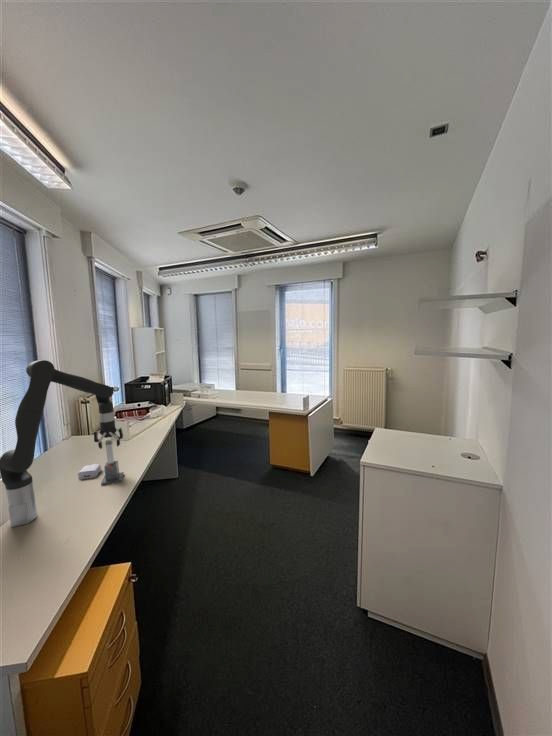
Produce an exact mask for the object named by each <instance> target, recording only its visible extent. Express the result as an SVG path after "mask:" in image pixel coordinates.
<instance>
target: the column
mask: <svg viewBox="0 0 552 736" xmlns="http://www.w3.org/2000/svg"><path fill="white" fill-rule="evenodd" d="M113 441H114V440H113V439H106V440H105V449H106V459H107V460H106V461H107V462H108V465H113V464H115V461H116V459H115V452H114V443H113Z"/></svg>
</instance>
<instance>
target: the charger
mask: <svg viewBox="0 0 552 736" xmlns="http://www.w3.org/2000/svg"><path fill="white" fill-rule="evenodd" d="M101 471H102V466H101V464H98V463H92V464H90V465H89V464H88V465H84V466H83V467H82V469H80V470H79V472H78V473H77V476H78V480H86V479H85V478H87V479H92V478H93V477H95V478H96V477H97V476H98V475H99V473H100V472H101Z"/></svg>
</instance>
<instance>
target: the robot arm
mask: <svg viewBox="0 0 552 736" xmlns="http://www.w3.org/2000/svg"><path fill="white" fill-rule="evenodd" d="M25 369H26V370H25V371H26V374H27V376H28V377H30V380H29V384H28V388H27V391H26V392H25V393H24V396H23V397H22V400H21V401H20V403H19V404H18V408H17V411H16V415H15V420H14V424H15V425H14V426H15V431H16V438H17V440H16V445H15V449H10V450H8V451H6V452H4V453H3V454H2V455H1V456H0V479H1V481H2V483H3V484H4V487H5V491H6V499H7V507H8V513H9V521H10V526H11V528H15V527H19V526H24V525H27V524H29V523H31V522H32V521H34V520H35V519H37V517H38V510H37V503H36V496H35V489H34V481H33V476H32V475H31V473H29V471H28V469H30V468H31V466H32V464H33V462H34V458H35V453H36V452H35V451H36V443H37V438H38V435H39V429H40V425H41V420H42V419H43V414H44V409H45V405H46V402H47V401H46V400H47V394H48V392H49V391H48V390H49V387H50V384H51V383H55V384H59V385H63V386H66V387H68V388H71V389H73V390H77V391H80V392H84V393H87V394H91V395H94V396H95V399H96V403H97V405H98V420H99V430H94V432H93V442H94V443H97V445H98V448H99V449H100V450H102V449H103V442H102V441H103V439H104V438H114V439H115V440H116V447H119V446H120V445H121V441H120V440H121V439H124V438H123V437H124V433H123V428H122V427H118V428H117V427H116V417H115V413H114V404H113V402H112V401H111V399H110V398H111V397H112V396H113V395H114V394H115V393H114V389H113V388H112V386H110V385H107V384H103V383H99V382H96V381H94V380H92V379H89V378H86V377H83V376H79V375H75V374H71V373H67V372H65V371H62V370H58V369H56V368H55V366H54V364H53V362H51V361H50V360H45V359H41V360H35V361H32V362H30V363H29V364H28V365H26V368H25ZM117 433H119V435H118V434H117ZM98 435H101V436H100V438H99V439H98Z"/></svg>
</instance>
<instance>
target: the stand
mask: <svg viewBox="0 0 552 736" xmlns="http://www.w3.org/2000/svg"><path fill="white" fill-rule="evenodd" d="M104 474H105V475H104V476H103V479H102V481H101V482H100V484H101V485H100V486H102V485H103V486H106V485H107V484H108V485H112V483H114V484H118V482H119V483H122V480H123V479H124V476H125V473H124V471H122V472H120V467H119V461H118V460H115V464H113V465H108V461H107V462H106V463H105V464H104Z"/></svg>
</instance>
